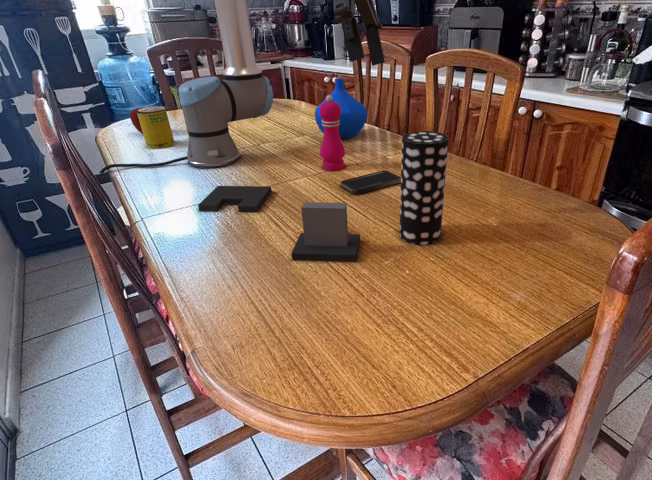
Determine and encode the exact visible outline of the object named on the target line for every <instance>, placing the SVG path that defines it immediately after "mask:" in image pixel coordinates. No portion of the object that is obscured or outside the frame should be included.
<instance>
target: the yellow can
mask: <svg viewBox="0 0 652 480" xmlns="http://www.w3.org/2000/svg"><path fill="white" fill-rule="evenodd" d="M144 107H145V108H141V109H138V110H136V111H137V115H138V118H139V121H140V125H141V128H142V132H143V134H142V135H143V139H144V141H145V146H146V148H148V149H152V150H153V149H156V150H157V149H165V148H168V147H171V146H174V145H175V139H174V135H173V131H172V128H171V124H170V119H169V115H168V112H167V108H166V107H165V106H163V105H162V106H160V105H158V106H156V105H155V106H144Z"/></svg>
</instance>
